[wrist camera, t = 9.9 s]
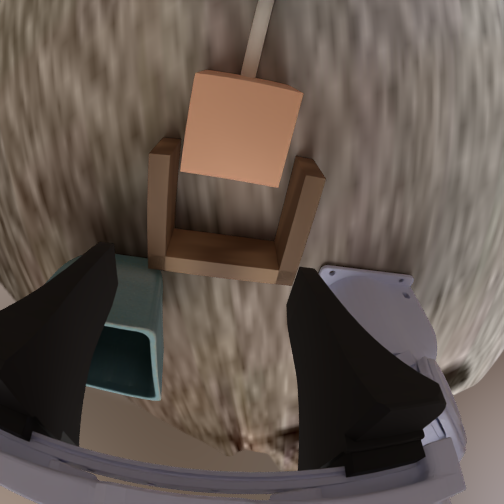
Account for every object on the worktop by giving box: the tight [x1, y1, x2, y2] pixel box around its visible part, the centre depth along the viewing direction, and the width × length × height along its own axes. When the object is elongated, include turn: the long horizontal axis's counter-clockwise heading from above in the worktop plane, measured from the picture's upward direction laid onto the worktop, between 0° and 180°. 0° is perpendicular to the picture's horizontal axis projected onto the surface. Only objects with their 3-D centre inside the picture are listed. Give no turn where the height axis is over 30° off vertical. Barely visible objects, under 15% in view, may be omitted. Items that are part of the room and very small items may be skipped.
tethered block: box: [180, 0, 303, 188], centre depth 13 cm, size 5×14×6 cm, turn 168°
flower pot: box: [45, 254, 164, 401], centre depth 21 cm, size 9×9×9 cm
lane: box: [147, 137, 326, 286], centre depth 20 cm, size 10×8×4 cm
